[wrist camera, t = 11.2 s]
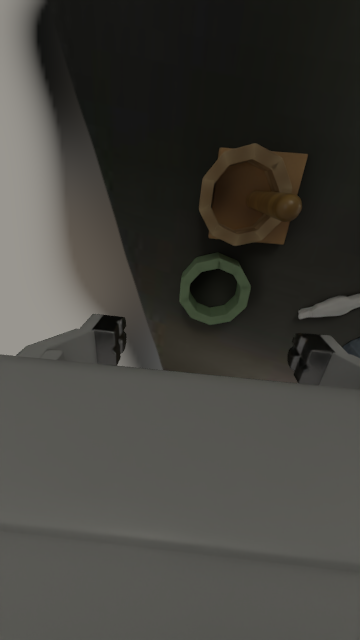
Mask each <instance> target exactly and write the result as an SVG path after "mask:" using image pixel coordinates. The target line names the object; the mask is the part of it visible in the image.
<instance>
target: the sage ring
mask: <svg viewBox="0 0 360 640" xmlns="http://www.w3.org/2000/svg"><path fill="white" fill-rule="evenodd" d="M218 268H219V269H221V270H223V271H226V272H228V273H230V274H233V275H234V277H235V279H236V280H237V287H236V292H235V295H234V296H233V297H232V298H231V299H230V300H229V301H228V302H227V303H226V304H225V305H221V306H216V307H210V308H209V307H207V306H204V305H202V304H199V303H197V302H196V300H195V299H194V297H193V296H192V294H191V292H190V284H191V282H192V281H193V280H194V279H195V278H196V277H197V276H198V275H199V274H200V273H201V272H204V271H208V270H213V269H218ZM250 289H251V285H250V283H249V281H248V280H247V278H246V276H245V274H244V272H243V270H242V268H241V266H240V264H239V262H238V261H237V260H235V259H232V258H230V257H228V256H225V255H223V254H221V253H219V252H217V253H212V254H208V255H204V256H199V257H196V258H195V259H194V260H193V262H192V263H191V264H190V265H189V266H188V267H187V268H186V269H185V271H184V272H183V273H182V278H181V286H180V299H179V300H180V303H181V304H182V306H183V307H184V309H185V310H186V312H187V313H188V315H189V316H190V317H191V318H193V319H196V320H198V321H201V322H203V323H206V324H208V325H213V324H219V323H224V322H230V321H231V320H232V319H234V318H235V317H236V316H237V315H238V314H239V313H240V312H241V311H243V310H244V309H245V308H246V307H247V302H248V298H249V294H250Z"/></svg>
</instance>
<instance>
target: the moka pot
mask: <svg viewBox="0 0 360 640" xmlns="http://www.w3.org/2000/svg"><path fill="white" fill-rule="evenodd" d="M343 349H344V350H345V351H346V352H347V353H348V354H351V355H354V356H356V357H358V358H360V338H357V339H355V340H352V341H351V342H349V343H348V344H346V345H345V346H344V347H343Z"/></svg>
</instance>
